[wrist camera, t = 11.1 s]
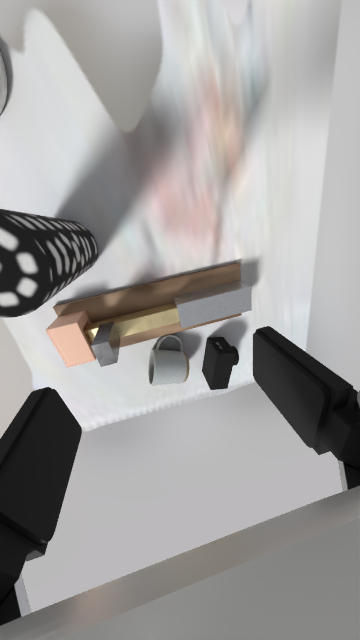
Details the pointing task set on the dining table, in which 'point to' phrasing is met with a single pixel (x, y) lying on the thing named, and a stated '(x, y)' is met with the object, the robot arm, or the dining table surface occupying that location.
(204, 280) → the walnut board
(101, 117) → the dining table surface
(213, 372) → the digital camera
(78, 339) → the terracotta socket
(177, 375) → the ceramic mug
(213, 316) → the metal sleeve
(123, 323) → the hammer
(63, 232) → the spotted tube
